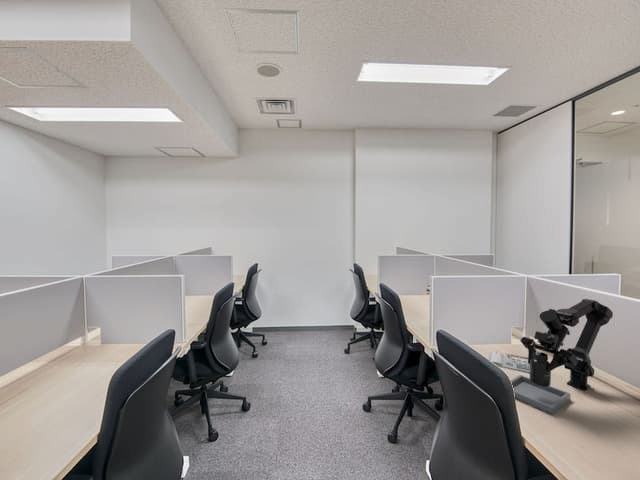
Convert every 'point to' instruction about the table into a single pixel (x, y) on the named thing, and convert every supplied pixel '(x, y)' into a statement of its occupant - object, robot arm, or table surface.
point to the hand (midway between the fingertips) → (537, 367)
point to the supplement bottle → (540, 369)
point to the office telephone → (509, 361)
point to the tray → (539, 395)
